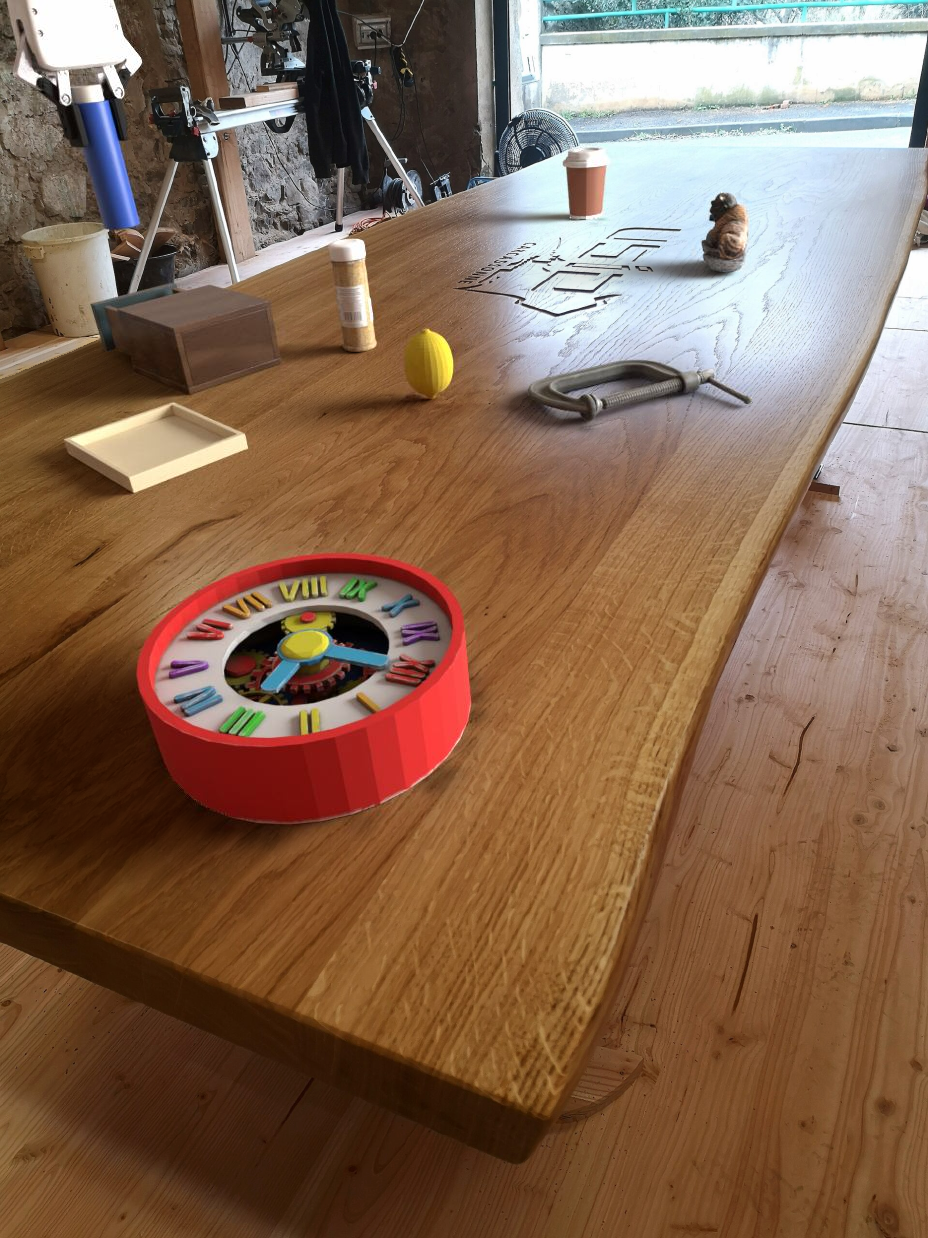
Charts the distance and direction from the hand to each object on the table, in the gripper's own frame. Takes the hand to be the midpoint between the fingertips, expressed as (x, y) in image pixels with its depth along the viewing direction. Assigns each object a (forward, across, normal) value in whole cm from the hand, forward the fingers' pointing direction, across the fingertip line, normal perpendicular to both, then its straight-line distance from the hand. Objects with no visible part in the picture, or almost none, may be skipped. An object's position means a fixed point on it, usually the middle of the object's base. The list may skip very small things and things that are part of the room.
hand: (99, 141), depth 99 cm
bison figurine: (+28, -82, +30) cm, 92 cm away
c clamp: (+28, -28, +51) cm, 65 cm away
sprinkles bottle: (+28, -23, +11) cm, 38 cm away
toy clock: (+28, +27, +67) cm, 77 cm away
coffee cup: (+28, -104, -14) cm, 108 cm away
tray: (+27, +12, +19) cm, 36 cm away
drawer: (+26, -7, -13) cm, 30 cm away
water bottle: (+9, 0, 0) cm, 9 cm away
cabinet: (+27, -6, 0) cm, 28 cm away
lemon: (+28, -16, +33) cm, 46 cm away
